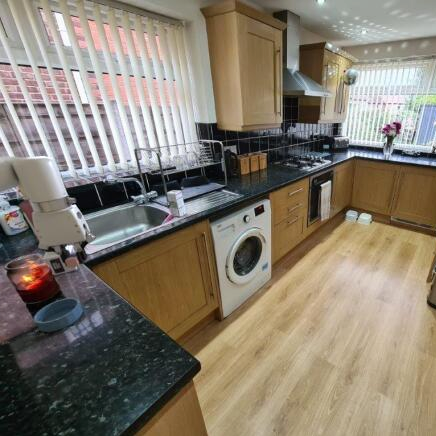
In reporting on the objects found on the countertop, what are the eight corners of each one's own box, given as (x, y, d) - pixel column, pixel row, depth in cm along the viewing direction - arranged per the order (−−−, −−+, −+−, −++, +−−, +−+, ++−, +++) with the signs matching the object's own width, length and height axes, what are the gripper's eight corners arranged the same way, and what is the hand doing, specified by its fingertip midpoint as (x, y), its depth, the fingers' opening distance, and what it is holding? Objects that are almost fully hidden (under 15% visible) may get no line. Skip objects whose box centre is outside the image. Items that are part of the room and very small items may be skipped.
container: (77, 270, 94) (64, 240, 89) (50, 277, 90) (35, 246, 85) (79, 260, 100) (67, 232, 95) (54, 267, 96) (40, 238, 91)
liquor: (53, 242, 115) (27, 185, 104) (33, 245, 112) (4, 186, 101) (60, 235, 121) (36, 180, 110) (42, 238, 119) (15, 182, 108)
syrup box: (186, 213, 148) (181, 190, 142) (179, 217, 142) (175, 193, 137) (178, 212, 149) (173, 189, 143) (171, 216, 144) (166, 192, 138)
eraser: (79, 266, 70) (75, 258, 69) (67, 268, 69) (64, 260, 68) (85, 257, 75) (82, 250, 74) (74, 259, 74) (71, 251, 73)
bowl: (31, 338, 66) (25, 327, 64) (49, 312, 74) (44, 302, 73) (76, 327, 69) (71, 317, 68) (88, 303, 78) (84, 294, 76)
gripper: (93, 196, 71) (112, 251, 78) (20, 204, 65) (48, 262, 73) (83, 204, 64) (105, 263, 72) (2, 213, 59) (35, 276, 66)
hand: (76, 262), depth 72 cm, fingers closed on eraser, 2 cm apart
